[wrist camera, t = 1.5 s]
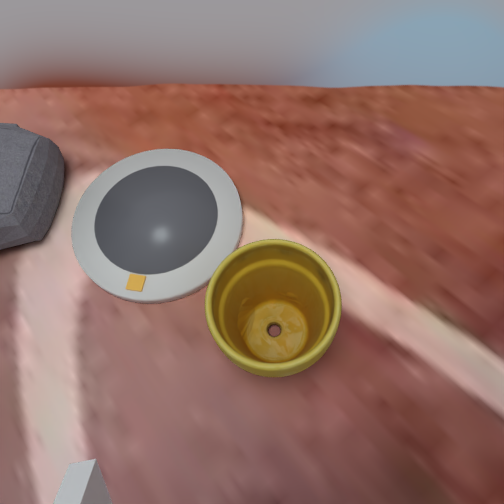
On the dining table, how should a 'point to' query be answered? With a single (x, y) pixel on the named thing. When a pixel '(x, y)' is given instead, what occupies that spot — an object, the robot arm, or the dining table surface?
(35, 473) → the dining table surface
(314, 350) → the plant pot
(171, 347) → the dining table surface
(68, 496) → the robot arm
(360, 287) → the dining table surface
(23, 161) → the soft grey pack
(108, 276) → the base
